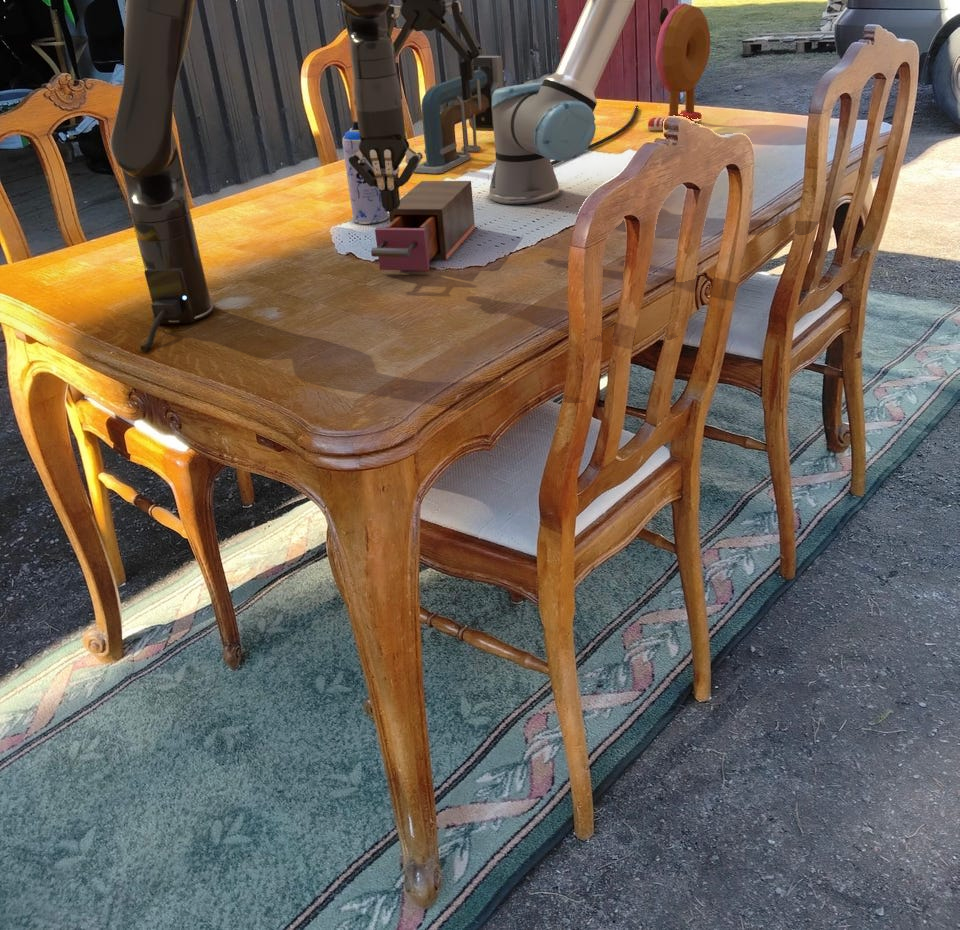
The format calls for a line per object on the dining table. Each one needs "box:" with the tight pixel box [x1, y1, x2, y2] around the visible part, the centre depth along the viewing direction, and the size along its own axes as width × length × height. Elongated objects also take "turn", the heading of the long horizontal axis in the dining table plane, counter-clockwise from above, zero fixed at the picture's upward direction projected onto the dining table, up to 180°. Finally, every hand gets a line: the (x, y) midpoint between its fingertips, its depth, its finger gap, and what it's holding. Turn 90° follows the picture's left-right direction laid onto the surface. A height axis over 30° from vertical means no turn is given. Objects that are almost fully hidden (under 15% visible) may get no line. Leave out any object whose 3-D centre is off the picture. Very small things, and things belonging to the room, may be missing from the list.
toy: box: [647, 2, 711, 131], centre depth 254 cm, size 21×10×30 cm, turn 141°
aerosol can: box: [342, 120, 390, 225], centre depth 201 cm, size 8×8×20 cm
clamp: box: [413, 55, 504, 175], centre depth 244 cm, size 35×9×21 cm, turn 151°
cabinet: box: [388, 180, 476, 261], centre depth 187 cm, size 19×10×10 cm, turn 164°
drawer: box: [370, 215, 440, 272], centre depth 176 cm, size 24×9×7 cm, turn 164°
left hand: (391, 210), depth 166 cm, fingers closed
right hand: (432, 99), depth 181 cm, fingers open, 13 cm apart
